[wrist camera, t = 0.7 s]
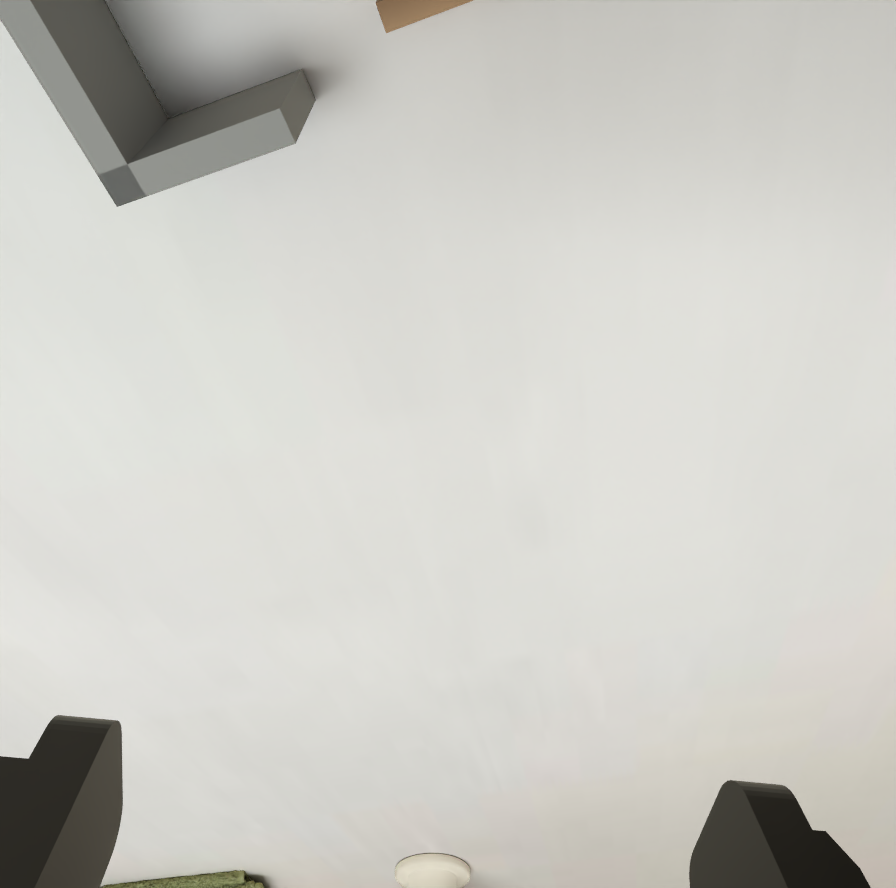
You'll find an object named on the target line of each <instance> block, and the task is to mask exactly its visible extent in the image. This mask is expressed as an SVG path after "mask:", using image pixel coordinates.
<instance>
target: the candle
mask: <svg viewBox="0 0 896 888" xmlns="http://www.w3.org/2000/svg"><path fill="white" fill-rule="evenodd" d="M395 879H396V881H397V882H398V883H399V884H400V885H401V886H403V887H405V888H461V887H463V886H464V885H466V884H467V883H468V881H469V880H470V868H469V866H468V865H467V864H466V863H465V862H464V861H462V860H461V859H459V858H456V857H453V856H450V855H445V854H434V853H430V854H419V855H414V856H411V857H408V858H406V859H404V860H402V861H400V862H399V863H398V864H397V866H396V868H395Z"/></svg>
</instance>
